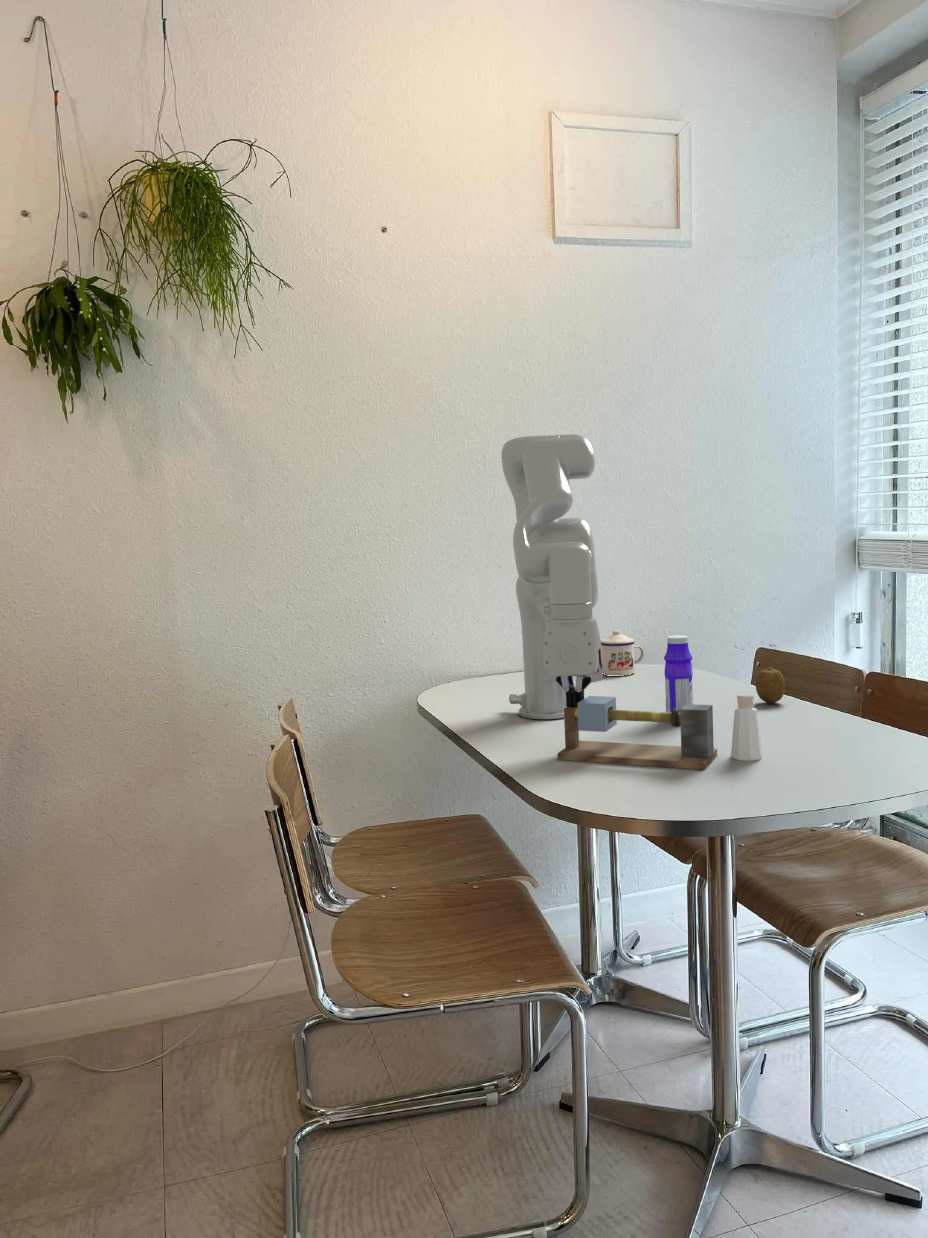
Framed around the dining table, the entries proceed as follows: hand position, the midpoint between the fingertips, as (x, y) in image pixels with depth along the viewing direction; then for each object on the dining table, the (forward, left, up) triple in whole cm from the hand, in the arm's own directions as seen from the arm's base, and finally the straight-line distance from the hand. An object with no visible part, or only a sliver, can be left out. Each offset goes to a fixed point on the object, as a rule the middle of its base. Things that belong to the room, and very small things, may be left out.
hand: (575, 711), depth 179 cm
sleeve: (+5, -2, -2) cm, 6 cm away
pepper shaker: (+30, +3, -7) cm, 31 cm away
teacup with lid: (-16, +81, -7) cm, 82 cm away
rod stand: (+12, -2, -7) cm, 14 cm away
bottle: (+12, +29, -7) cm, 32 cm away
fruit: (+27, +49, -7) cm, 56 cm away
